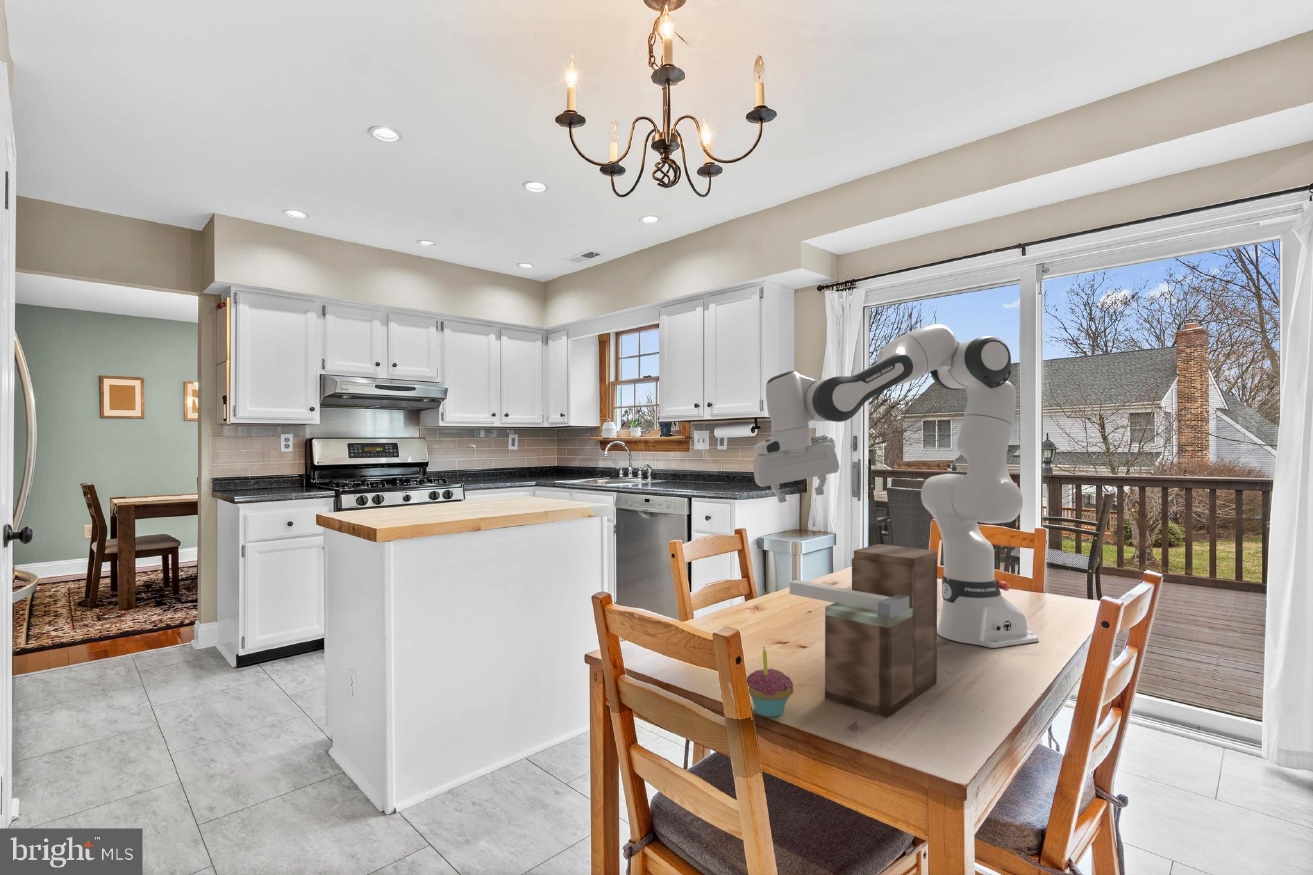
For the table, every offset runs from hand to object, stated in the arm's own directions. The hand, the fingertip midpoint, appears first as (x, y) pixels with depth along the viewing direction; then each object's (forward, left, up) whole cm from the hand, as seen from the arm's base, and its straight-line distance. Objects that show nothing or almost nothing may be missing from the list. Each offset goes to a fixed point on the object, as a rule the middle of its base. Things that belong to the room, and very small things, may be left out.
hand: (801, 498), depth 156 cm
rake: (+5, +30, -17) cm, 35 cm away
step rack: (-4, +32, -34) cm, 46 cm away
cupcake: (+21, +37, -34) cm, 54 cm away
